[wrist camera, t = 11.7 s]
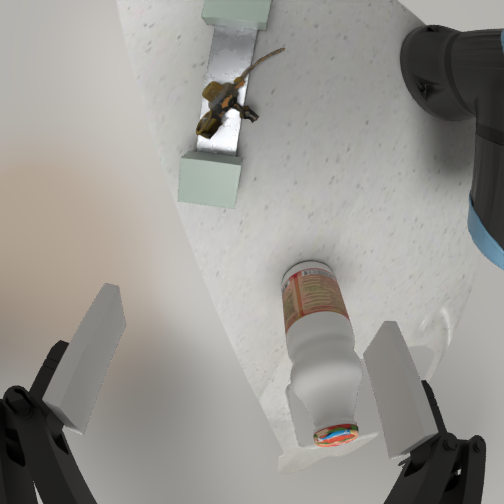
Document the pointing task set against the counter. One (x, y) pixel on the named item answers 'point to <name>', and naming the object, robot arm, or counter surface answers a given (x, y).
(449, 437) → the robot arm
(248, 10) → the mounted modules
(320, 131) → the counter surface
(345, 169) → the counter surface
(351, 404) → the fruit juice
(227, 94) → the regulator
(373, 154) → the counter surface
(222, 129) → the rail
